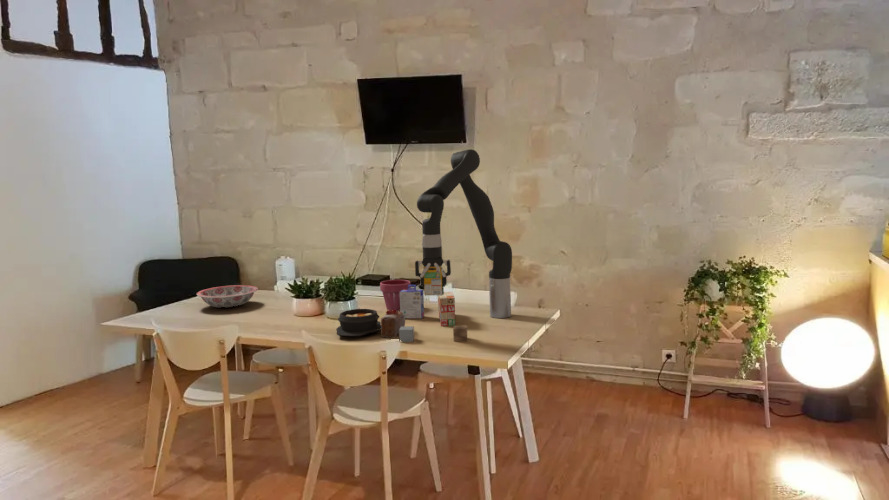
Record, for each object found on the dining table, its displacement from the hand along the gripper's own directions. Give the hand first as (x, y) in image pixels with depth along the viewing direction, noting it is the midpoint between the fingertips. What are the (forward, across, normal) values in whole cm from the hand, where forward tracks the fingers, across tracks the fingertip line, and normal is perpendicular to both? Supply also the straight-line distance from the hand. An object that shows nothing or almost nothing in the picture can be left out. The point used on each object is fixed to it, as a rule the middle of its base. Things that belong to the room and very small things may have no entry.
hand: (433, 286), depth 272 cm
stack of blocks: (+20, -2, -25) cm, 32 cm away
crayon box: (+4, 0, 0) cm, 4 cm away
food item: (+20, +18, -4) cm, 27 cm away
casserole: (+20, +32, -6) cm, 38 cm away
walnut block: (+20, -10, +7) cm, 24 cm away
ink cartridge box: (+20, +13, -31) cm, 39 cm away
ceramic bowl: (+20, +109, -60) cm, 126 cm away
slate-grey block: (+20, +11, +7) cm, 24 cm away
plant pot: (+20, +23, -49) cm, 58 cm away
